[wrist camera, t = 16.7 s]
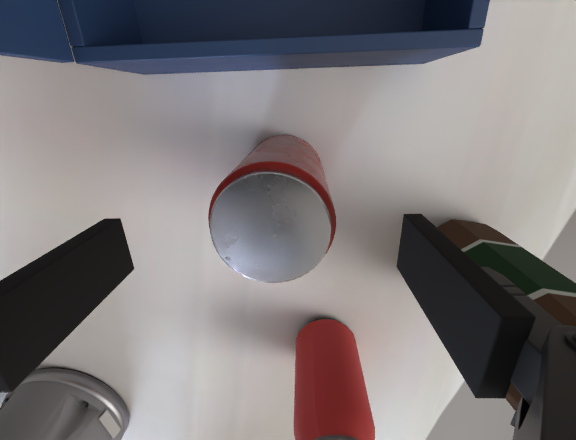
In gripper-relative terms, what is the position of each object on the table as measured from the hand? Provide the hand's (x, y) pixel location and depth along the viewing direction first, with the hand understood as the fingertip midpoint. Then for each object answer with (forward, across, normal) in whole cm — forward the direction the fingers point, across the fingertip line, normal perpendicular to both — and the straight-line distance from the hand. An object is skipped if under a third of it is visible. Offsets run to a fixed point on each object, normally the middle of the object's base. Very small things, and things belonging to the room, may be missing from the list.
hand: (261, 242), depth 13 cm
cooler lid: (-6, -12, +15) cm, 20 cm away
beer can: (+13, +4, -19) cm, 23 cm away
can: (+13, 0, 0) cm, 13 cm away
